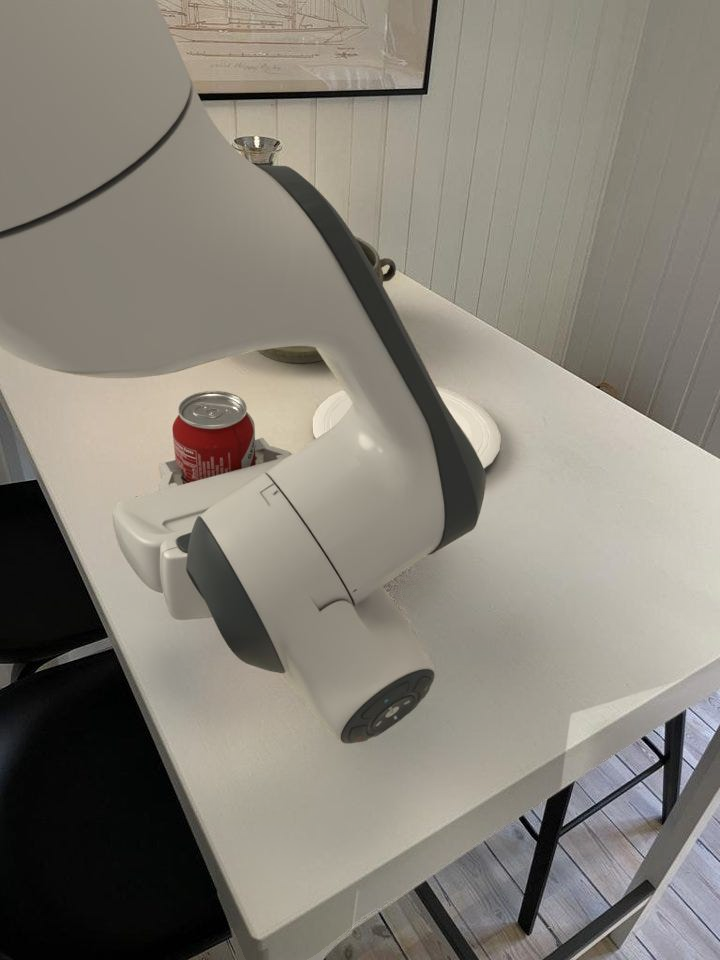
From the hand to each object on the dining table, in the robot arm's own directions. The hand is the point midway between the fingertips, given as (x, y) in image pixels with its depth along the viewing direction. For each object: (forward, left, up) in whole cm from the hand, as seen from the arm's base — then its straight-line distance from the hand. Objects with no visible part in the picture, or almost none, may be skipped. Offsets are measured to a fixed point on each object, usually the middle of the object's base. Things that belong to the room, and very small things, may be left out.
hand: (211, 456), depth 66 cm
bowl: (+54, +15, -17) cm, 58 cm away
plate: (+35, -9, -17) cm, 40 cm away
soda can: (-1, -1, -7) cm, 7 cm away
